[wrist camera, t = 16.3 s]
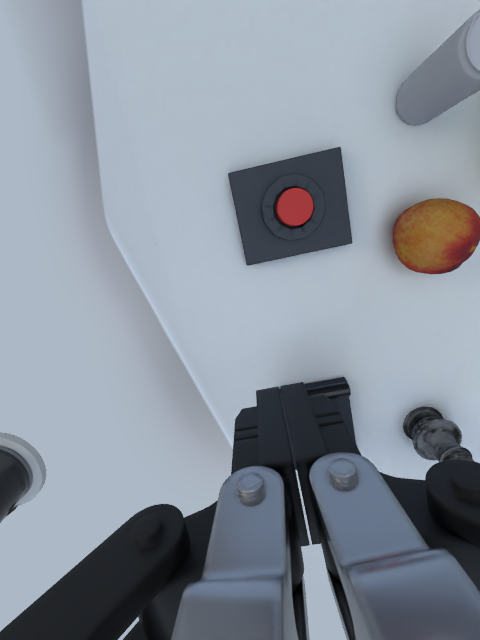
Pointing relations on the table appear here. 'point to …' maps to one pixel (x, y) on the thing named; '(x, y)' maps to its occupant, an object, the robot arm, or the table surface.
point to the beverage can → (443, 76)
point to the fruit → (436, 235)
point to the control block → (266, 188)
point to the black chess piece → (435, 436)
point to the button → (294, 207)
